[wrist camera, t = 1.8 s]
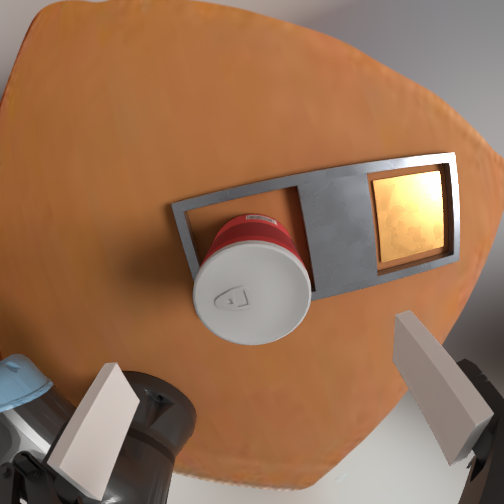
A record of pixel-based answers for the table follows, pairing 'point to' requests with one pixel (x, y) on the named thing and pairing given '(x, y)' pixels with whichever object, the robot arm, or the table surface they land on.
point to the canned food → (252, 282)
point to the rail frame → (357, 220)
